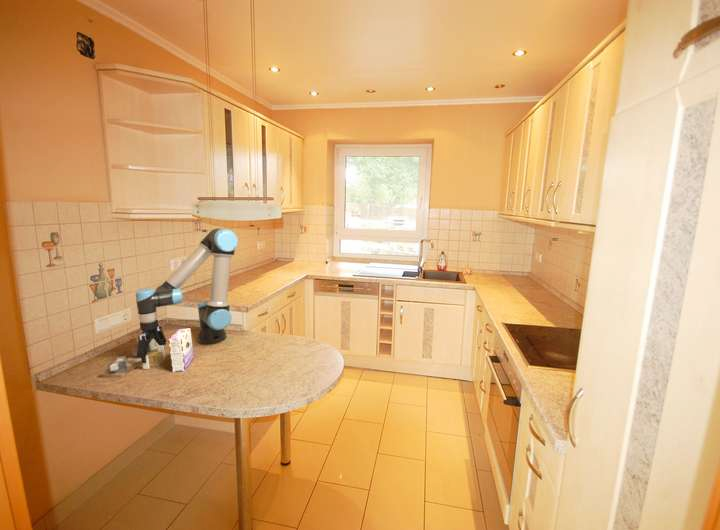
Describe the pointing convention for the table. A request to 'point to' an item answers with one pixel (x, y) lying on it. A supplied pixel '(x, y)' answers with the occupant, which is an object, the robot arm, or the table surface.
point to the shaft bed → (123, 365)
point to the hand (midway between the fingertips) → (154, 363)
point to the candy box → (181, 350)
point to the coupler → (155, 358)
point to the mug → (152, 344)
